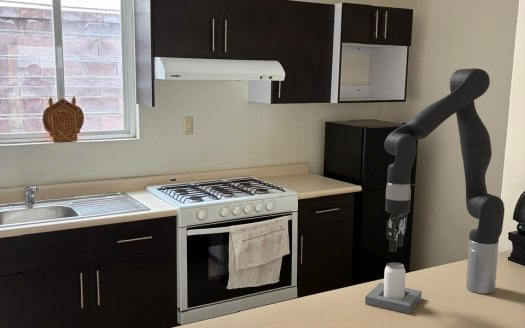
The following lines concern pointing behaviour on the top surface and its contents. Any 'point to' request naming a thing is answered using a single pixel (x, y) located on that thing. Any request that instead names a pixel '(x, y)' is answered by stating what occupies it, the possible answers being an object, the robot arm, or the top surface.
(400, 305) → the socket plate
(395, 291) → the can
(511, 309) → the top surface
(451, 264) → the top surface
